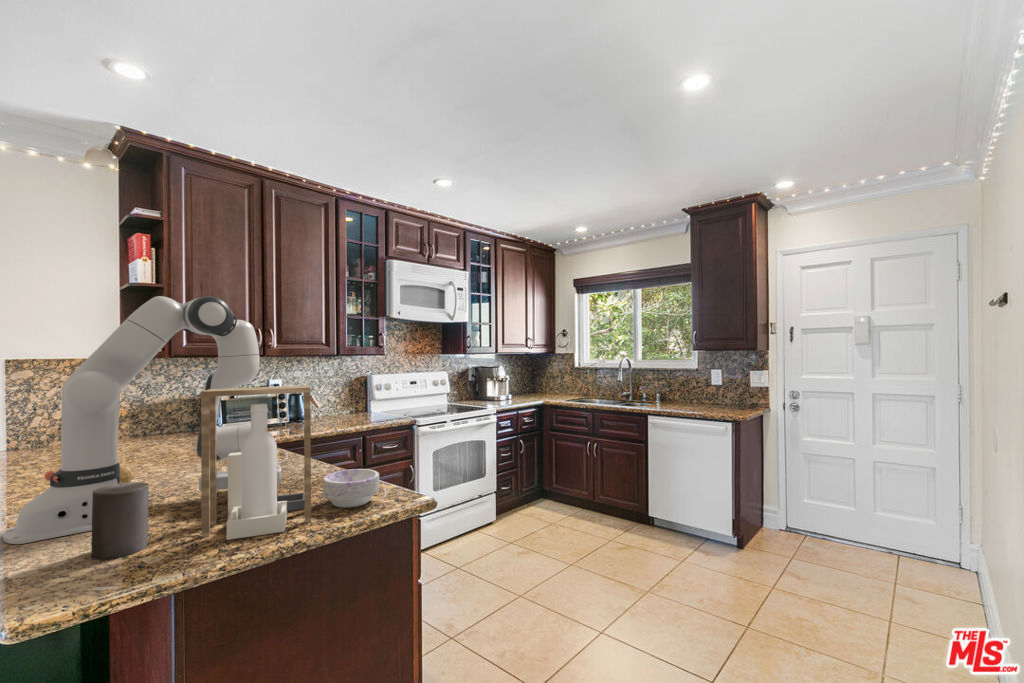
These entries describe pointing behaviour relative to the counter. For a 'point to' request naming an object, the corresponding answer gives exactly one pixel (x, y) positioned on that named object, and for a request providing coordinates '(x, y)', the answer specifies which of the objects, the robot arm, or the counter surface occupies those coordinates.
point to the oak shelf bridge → (210, 447)
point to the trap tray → (293, 501)
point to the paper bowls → (350, 487)
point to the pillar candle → (119, 520)
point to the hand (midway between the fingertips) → (238, 485)
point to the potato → (125, 475)
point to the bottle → (259, 467)
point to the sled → (234, 522)
